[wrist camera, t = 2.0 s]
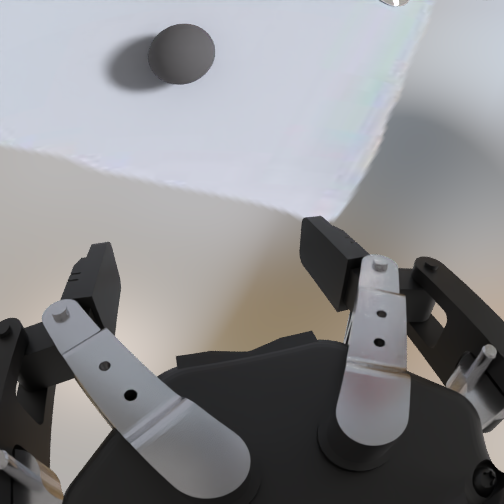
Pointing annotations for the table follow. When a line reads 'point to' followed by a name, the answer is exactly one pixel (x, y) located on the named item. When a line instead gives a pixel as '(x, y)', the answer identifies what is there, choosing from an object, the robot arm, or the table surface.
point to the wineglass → (396, 2)
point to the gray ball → (181, 54)
